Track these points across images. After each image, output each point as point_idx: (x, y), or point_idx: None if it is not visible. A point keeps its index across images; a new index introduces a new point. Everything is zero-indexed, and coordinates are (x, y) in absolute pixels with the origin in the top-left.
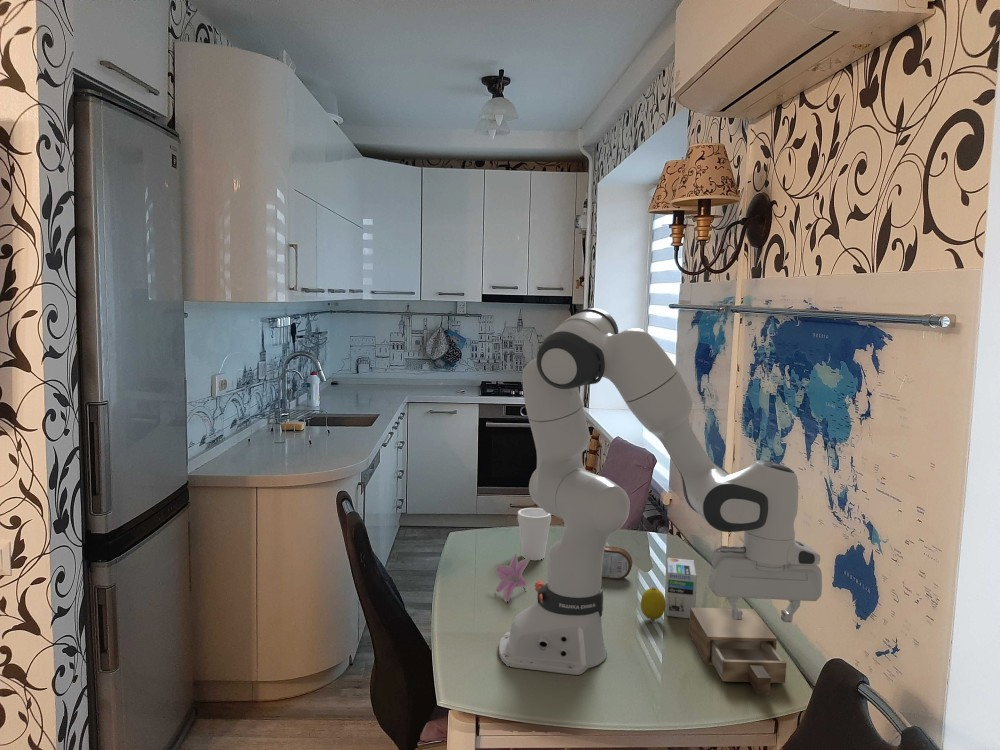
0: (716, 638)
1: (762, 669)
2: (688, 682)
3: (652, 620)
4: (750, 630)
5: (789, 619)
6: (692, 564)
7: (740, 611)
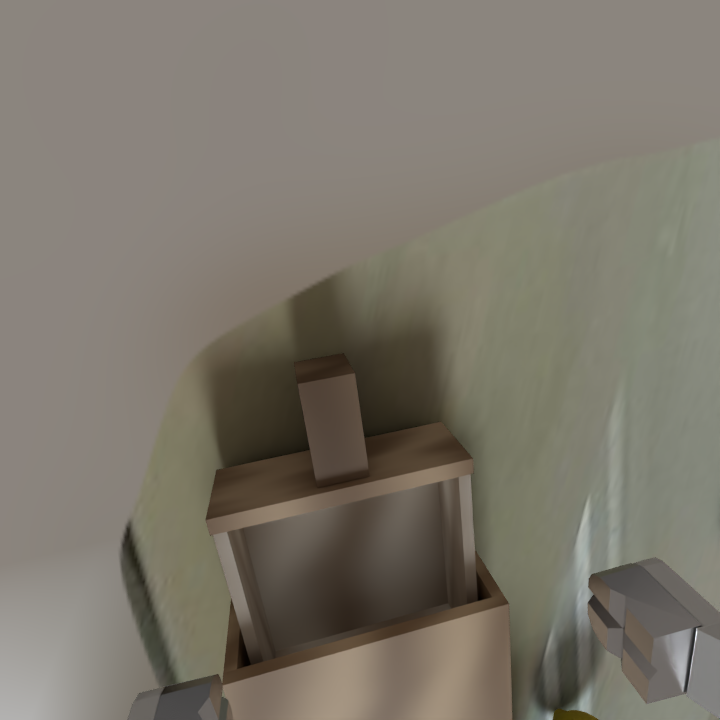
0: (473, 608)
1: (320, 448)
2: (537, 407)
3: (560, 709)
4: (326, 707)
5: (158, 713)
6: None
7: (675, 634)
